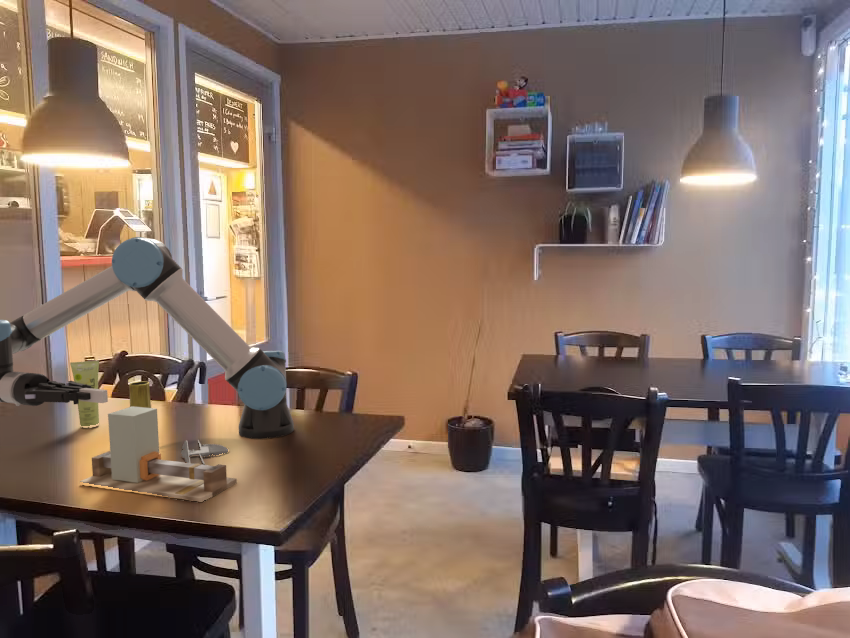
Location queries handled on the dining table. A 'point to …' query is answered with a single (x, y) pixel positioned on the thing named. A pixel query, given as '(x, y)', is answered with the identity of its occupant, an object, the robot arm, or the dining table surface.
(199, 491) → the rod stand
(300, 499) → the dining table surface
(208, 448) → the grey flat plane shape
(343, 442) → the dining table surface
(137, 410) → the sleeve
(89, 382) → the tube
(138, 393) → the vase
